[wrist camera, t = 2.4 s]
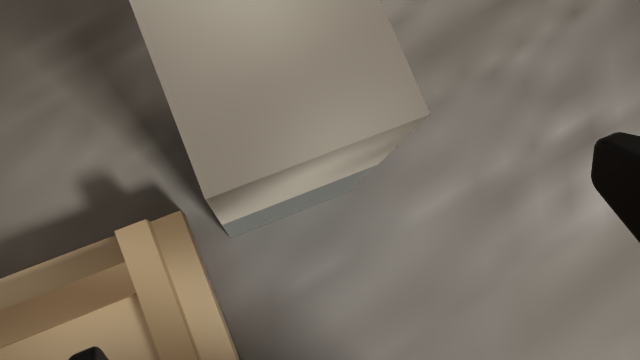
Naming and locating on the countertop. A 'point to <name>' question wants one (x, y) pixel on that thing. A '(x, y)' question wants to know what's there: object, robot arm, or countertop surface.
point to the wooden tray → (118, 300)
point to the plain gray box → (280, 98)
